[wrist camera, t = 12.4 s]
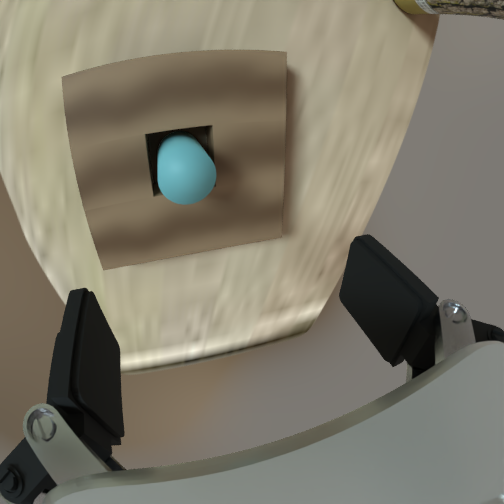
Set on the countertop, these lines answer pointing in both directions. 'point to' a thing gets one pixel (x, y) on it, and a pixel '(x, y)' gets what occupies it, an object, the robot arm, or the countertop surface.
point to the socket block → (169, 118)
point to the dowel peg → (184, 169)
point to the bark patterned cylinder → (454, 7)
